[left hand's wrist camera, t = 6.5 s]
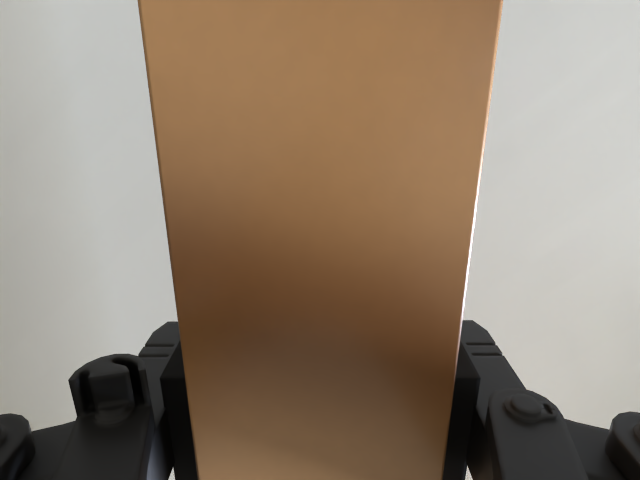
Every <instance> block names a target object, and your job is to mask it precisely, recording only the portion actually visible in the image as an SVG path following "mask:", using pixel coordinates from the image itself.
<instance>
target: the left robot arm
mask: <svg viewBox="0 0 640 480" xmlns="http://www.w3.org/2000/svg"><path fill="white" fill-rule="evenodd" d="M68 381H69V385H70V389H71V393H72V397H73V401H74V405H75V409H76V413H77V418H76V421H73V422H69V423H66V424H62V425H58V426H54V427H49V428H45V429H40V430H36V431H32V432H31V428H30V425H29V422H28V420H26V419H25V418H24V417H23V416H22V415H16V414H2V415H0V480H168V479H169V476H170V473H171V471H172V468H174V474H175V480H198V476H197V468H196V460H195V452H194V444H193V436H192V428H191V420H190V412H189V405H188V397H187V389H186V381H185V373H184V365H183V357H182V349H181V341H180V333H179V325H178V322H167V323H165V324H164V325H163V326H161V327H160V328H158V329H157V330H156V331H154V332H153V333H152V335H151V336H150V338H149V339H148V341H147V343H146V344H145V347H143V349H142V350H141V352H140V353H139V355H138V356H135V355H131V354H113V355H109V356H104V357H100V358H98V359H96V360H93V361H91V362H88V363H86V364H85V365H84V366H82V367H81V368H79V369H78V370H76V371H75V372H74V374H73V375H72V376H71V377H70V379H69V380H68ZM467 465H468V468H469V470H470V473H471V476H472V478H473V480H640V413H637V412H626V413H620V414H618V415H617V416H616V417H615V418H614V419H613V420H612V423H611V426H610V430H608V429H604V428H599V427H595V426H590V425H586V424H581V423H577V422H574V421H570V420H567V419H564V418H563V415H562V414H561V412H560V411H559V410H558V408H557V407H556V406H555V405H554V404H553V403H552V402H550V401H549V400H548V399H547V398H545V397H543V396H541V395H539V394H537V393H535V392H533V391H529V390H526V388H525V387H524V385H523V384H522V382H521V381H520V379H519V378H518V376H517V375H516V373H515V372H514V370H513V369H512V367H511V366H510V364H509V363H508V361H507V360H506V358H505V357H504V356H502V352H501V351H500V349H499V348H498V346H497V345H495V342H494V340H493V339H492V337H491V336H490V334H489V333H488V331H487V330H485V329H484V328H483V327H481V326H480V325H478V324H477V323H476V322H474V321H473V320H463V321H462V329H461V337H460V344H459V352H458V360H457V368H456V376H455V384H454V392H453V400H452V408H451V416H450V423H449V431H448V439H447V447H446V455H445V463H444V471H443V479H442V480H465V476H466V470H467Z"/></svg>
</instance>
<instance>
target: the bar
mask: <svg viewBox="0 0 640 480" xmlns="http://www.w3.org/2000/svg"><path fill="white" fill-rule="evenodd" d="M502 5H503V0H138V7H139V15H140V23H141V31H142V38H143V46H144V54H145V62H146V70H147V78H148V86H149V94H150V102H151V110H152V118H153V126H154V134H155V142H156V150H157V158H158V166H159V174H160V182H161V190H162V198H163V206H164V214H165V222H166V229H167V237H168V245H169V253H170V261H171V269H172V277H173V285H174V293H175V301H176V309H177V317H178V325H179V333H180V341H181V349H182V357H183V365H184V373H185V381H186V389H187V397H188V405H189V412H190V420H191V428H192V436H193V444H194V452H195V460H196V468H197V476H198V480H442V479H443V471H444V463H445V455H446V447H447V439H448V431H449V423H450V416H451V408H452V400H453V392H454V384H455V376H456V368H457V360H458V352H459V344H460V337H461V329H462V321H463V313H464V305H465V297H466V289H467V281H468V273H469V266H470V258H471V250H472V242H473V234H474V226H475V218H476V210H477V202H478V194H479V187H480V179H481V171H482V163H483V155H484V147H485V139H486V131H487V123H488V116H489V108H490V100H491V92H492V84H493V76H494V68H495V60H496V52H497V45H498V37H499V29H500V21H501V13H502Z"/></svg>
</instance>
